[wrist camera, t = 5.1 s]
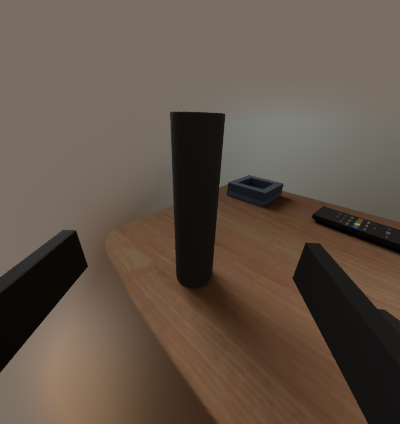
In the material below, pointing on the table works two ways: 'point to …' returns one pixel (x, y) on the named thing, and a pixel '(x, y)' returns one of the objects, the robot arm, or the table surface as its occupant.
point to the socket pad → (255, 190)
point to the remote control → (359, 226)
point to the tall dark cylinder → (195, 192)
